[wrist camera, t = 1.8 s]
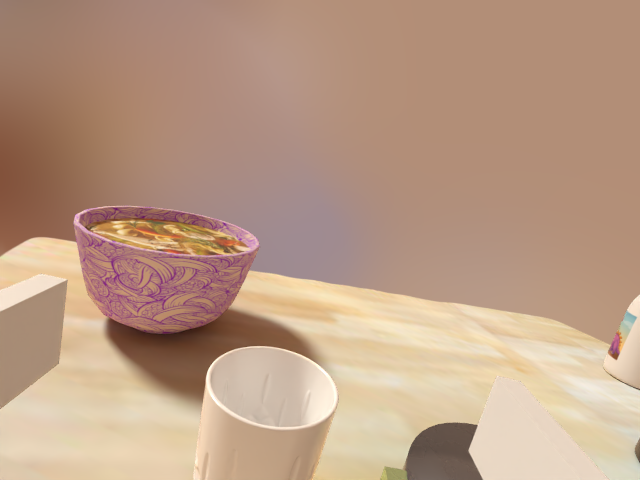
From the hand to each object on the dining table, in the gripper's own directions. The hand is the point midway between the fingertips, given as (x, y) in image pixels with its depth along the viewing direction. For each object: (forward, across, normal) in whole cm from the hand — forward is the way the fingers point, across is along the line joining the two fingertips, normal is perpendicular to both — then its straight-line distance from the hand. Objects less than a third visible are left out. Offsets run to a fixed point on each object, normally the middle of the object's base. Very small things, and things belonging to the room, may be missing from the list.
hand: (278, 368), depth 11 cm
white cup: (+10, 0, -17) cm, 20 cm away
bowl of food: (+33, -15, -17) cm, 40 cm away
